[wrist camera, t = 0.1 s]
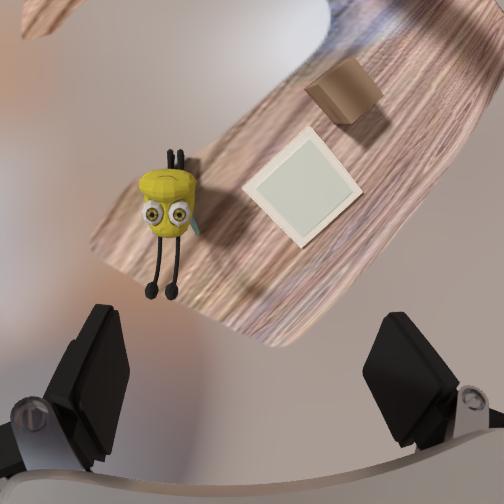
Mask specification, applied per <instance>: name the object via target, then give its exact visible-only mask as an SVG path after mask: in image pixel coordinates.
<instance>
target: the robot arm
mask: <svg viewBox="0 0 504 504" xmlns="http://www.w3.org/2000/svg"><path fill="white" fill-rule="evenodd" d="M129 375H130V368H129V363H128V358H127V354H126V349H125V345H124V339H123V334H122V328H121V323H120V317H119V313H118V311H117V310H114V308H113V306H111V305H102V304H96V305H95V306H94V308H93V309H92V311H91V313H90V315H89V316H88V318H87V320H86V322H85V324H84V325H83V328H82V329H81V331H80V333H79V335H78V337H77V338H76V340H75V339H74V340H72V341H71V342H70V344H69V345H68V347H67V349H66V351H65V353H64V355H63V357H62V359H61V361H60V363H59V365H58V367H57V369H56V371H55V373H54V375H53V377H52V379H51V381H50V383H49V385H48V387H47V390H46V392H45V394H44V396H43V398H40V397H35V396H30V397H25V398H23V399H22V400H19V401H18V402H17V403H16V404H15V405H14V407H13V408H12V410H11V415H10V420H11V421H10V422H8V423H6V424H3V425H1V426H0V504H504V413H501V412H498V411H496V410H493V409H490V408H489V402H488V399H487V397H486V395H485V394H484V393H483V391H481V390H480V389H479V388H477V387H474V386H470V385H467V386H463V387H461V389H460V390H459V391H457V389H456V388H457V386H458V385H459V383H460V382H459V381H458V380H457V378H456V377H455V376H454V374H453V373H452V371H451V370H450V369H449V368H448V366H447V365H446V363H445V362H444V361H443V360H442V358H441V357H440V356H439V354H438V353H437V352H436V350H435V349H434V348H433V347H432V345H431V344H430V343H429V342H428V340H427V339H426V338H425V337H424V335H423V334H422V333H421V332H420V330H419V329H418V328H417V327H416V326H415V324H414V323H413V322H412V321H411V320H410V318H409V317H408V316H407V315H406V314H405V313H404V312H390V313H389V314H388V315H387V316H386V317H385V318H384V319H383V321H382V324H381V327H380V329H379V332H378V334H377V337H376V339H375V341H374V344H373V346H372V349H371V351H370V353H369V356H368V358H367V360H366V362H365V365H364V367H363V377H364V379H365V381H366V383H367V385H368V387H369V389H370V391H371V393H372V395H373V397H374V399H375V401H376V403H377V405H378V407H379V409H380V411H381V413H382V415H383V417H384V419H385V421H386V423H387V425H388V428H389V430H390V432H391V434H392V436H393V438H394V439H395V441H396V442H398V443H399V445H400V447H401V448H403V447H406V446H409V445H412V444H413V443H414V442H415V443H416V445H417V446H416V450H415V453H414V454H411V455H408V456H405V457H402V458H399V459H395V460H392V461H389V462H386V463H382V464H378V465H375V466H371V467H367V468H363V469H359V470H354V471H350V472H345V473H341V474H336V475H331V476H325V477H319V478H313V479H307V480H299V481H291V482H282V483H272V484H257V485H234V486H233V485H232V486H215V485H186V484H173V483H161V482H151V481H143V480H136V479H129V478H122V477H116V476H110V475H103V474H97V473H94V472H93V471H92V469H91V467H92V466H93V464H94V460H97V461H101V462H105V457H106V455H110V454H111V451H112V447H113V442H114V438H115V433H116V429H117V424H118V420H119V415H120V411H121V407H122V403H123V399H124V395H125V391H126V387H127V383H128V380H129Z"/></svg>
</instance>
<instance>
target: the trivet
mask: <svg viewBox="0 0 504 504" xmlns="http://www.w3.org/2000/svg"><path fill="white" fill-rule="evenodd" d="M241 188H242V189H243V190H244V191H245V192H246V193H247V194H248V195H249V196H250V197H251V198H252V199H253V200H254V201H255V202H256V203H257V204H258V205H259V206H260V207H261V208H262V209H263V210H264V211H265V212H266V213H267V214H268V215H269V216H270V217H271V218H272V219H273V220H274V221H275V222H276V223H277V224H278V225H279V226H280V227H281V228H282V229H283V230H284V231H285V232H286V233H287V234H288V235H289V236H290V237H291V238H292V240H293V241H294V242H295V243H296V244H297V245H298V246H299V247H300V248H302V247H303V246H305V245H306V244H307V243H308V242H309V241H310V240H311V239H312V238H314V237H315V236H316V235H317V234H318V233H319V232H320V231H321V230H322V229H323V228H325V227H326V226H327V225H328V224H329V223H330V222H331V221H332V220H333V219H334V218H336V217H337V216H338V215H339V214H340V213H341V212H342V211H343V210H344V209H345V208H346V207H348V206H349V205H350V204H351V203H352V202H353V201H354V200H355V199H356V198H357V197H358V196H359V195H360V194H362V193H363V191H362V190H361V189H360V187H359V186H358V185H357V183H356V182H355V181H354V179H353V178H352V177H351V175H350V174H349V173H348V172H347V170H346V169H345V168H344V167H343V165H342V164H341V163H340V161H339V160H338V159H337V158H336V157H335V155H334V154H333V153H332V152H331V150H330V149H329V148H328V147H327V146H326V144H325V143H324V142H323V141H322V140H321V138H320V137H319V136H318V135H317V134H316V133H315V131H314V130H313V129H312V128H311V127H310V126H307V127H306V128H305V129H304V130H303V131H302V132H301V133H300V134H298V135H297V136H296V137H295V138H294V139H293V140H292V141H291V142H290V143H288V144H287V145H286V146H285V147H284V148H283V149H282V150H281V151H280V152H279V153H277V154H276V155H275V156H274V157H273V158H272V159H271V160H270V161H269V162H268V163H267V164H266V165H265V166H263V167H262V168H261V169H260V170H259V171H258V172H257V173H256V174H255V175H254V176H253V177H252V178H251V179H250V180H249V181H248V182H246V183H245V184H244V185H243V186H242V187H241Z"/></svg>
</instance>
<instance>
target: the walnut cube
mask: <svg viewBox="0 0 504 504" xmlns="http://www.w3.org/2000/svg"><path fill="white" fill-rule="evenodd" d="M304 90H305V91H306V92H307V93H308V94H309V96H310V97H311V98H312V99H313V100H314V101H315V102H316V103H317V105H318V106H319V107H320V108H321V109H322V110H323V112H324V113H325V114H326V115H327V116H328V117H329V119H330V120H331V121H332V122H333V123H339V124H352V123H353V122H354V121H355V120H357V119H358V118H359V117H360V116H361V115H362V114H363V113H364V112H366V111H367V110H368V109H369V108H370V107H371V106H373V105H374V104H375V103H376V102H377V101H378V100H379V99H381V98H382V97H383V96H384V95H383V94H382V92H381V91H380V90H379V88H378V87H377V86H376V84H375V83H374V82H373V80H372V79H371V78H370V77H369V75H368V74H367V73H366V71H365V70H364V69H363V68H362V67H361V65H360V64H359V63H358V62H357V60H356V59H355V58H354V57H351V58H348V59H346V60H344V61H341V62H339V63H337V64H335V65H334V66H332V67H331V68H330V69H329V70H327V71H326V72H325V73H324V74H322V75H321V76H320V77H319V78H317V79H316V80H315V81H314V82H312V83H311V84H310V85H309V86H308V87H306V88H305V89H304Z"/></svg>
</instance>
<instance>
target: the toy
mask: <svg viewBox="0 0 504 504" xmlns="http://www.w3.org/2000/svg"><path fill="white" fill-rule="evenodd" d="M174 159H175V155H174V154H173V150H171V149H169V150H168V151H167V160H168V169H160V170H153V171H151V172H148V173H146V174H144V176H143V177H142V178H141V180H140V181H139V189H140V191H141V192H142V193H143V194H144V201H145V203H144V207H143V210H142V216H143V219H144V221H146V222H147V223H149V225H150V228H151V229H152V231H153V232H152V233H153V234H154V233H155V234H156V235H157V236H158V257H157V265H156V272H155V277H154V280H153V282H151V283H148V284H147V286H146V289H145V295H146V297H147V298H149V299H151V300H152V299H154V298H156V296H157V294H158V291H159V289H158V286H157V281H158V278H159V272H160V265H161V256H162V237H164V238H174V237H176V254H175V266H174V275H173V281H172V283H170V284H168V285H167V286H166V289H165V295H166V297H167V299H168V300H173V299H175V298H176V297H177V295H178V287H177V285H176V283H177V277H178V268H179V255H180V236H181V235H182V234H183V233H184V232H185V231H186V230H187V228H188V226H189V224H191V226H192V228H193V230H194V232H195V233H196V234H197V235H199V229H198V226H197V223H196V222H195V220H194V218H193V216H192V214H193V210H194V204H195V186H196V180H195V178H194V177H193V175H192V174H190V173H188V172H186V171H184V170H183V168H184V152H183V150H181V149H180V150H178V151H177V161H178V169H177V170H176V169H174V161H175V160H174Z"/></svg>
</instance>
